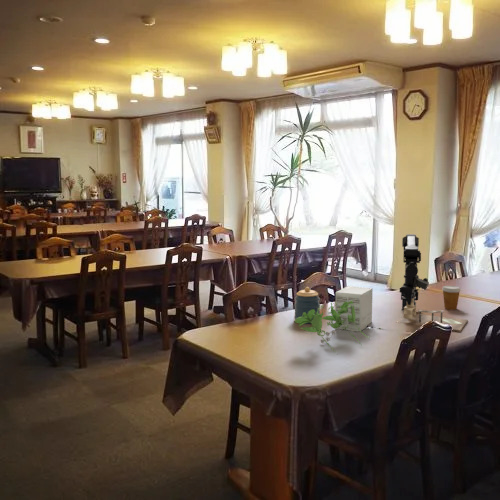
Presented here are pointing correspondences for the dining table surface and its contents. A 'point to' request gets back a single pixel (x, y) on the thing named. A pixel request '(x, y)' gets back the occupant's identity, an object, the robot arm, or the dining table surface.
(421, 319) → the wire board
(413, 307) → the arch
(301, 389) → the dining table surface
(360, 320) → the supplement box
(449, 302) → the disposable coffee cup
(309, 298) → the canister
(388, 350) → the dining table surface
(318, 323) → the plant cuttings
